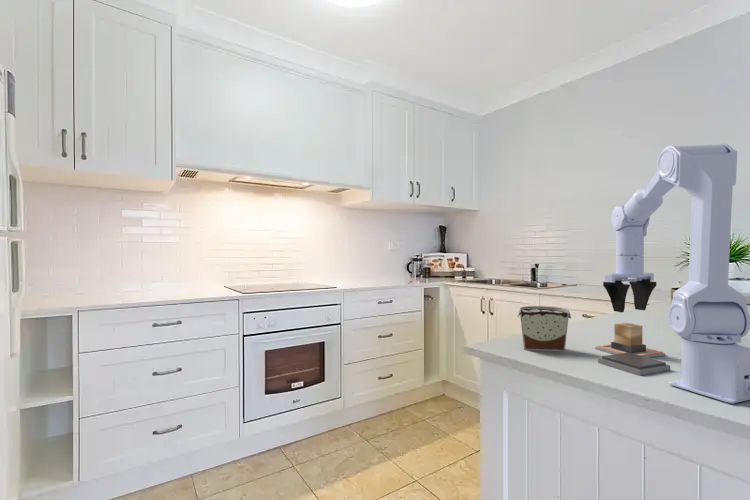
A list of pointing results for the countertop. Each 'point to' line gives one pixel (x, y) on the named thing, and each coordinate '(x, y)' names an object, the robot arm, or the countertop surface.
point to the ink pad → (634, 363)
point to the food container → (544, 327)
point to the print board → (648, 353)
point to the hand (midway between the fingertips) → (629, 310)
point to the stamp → (628, 338)
